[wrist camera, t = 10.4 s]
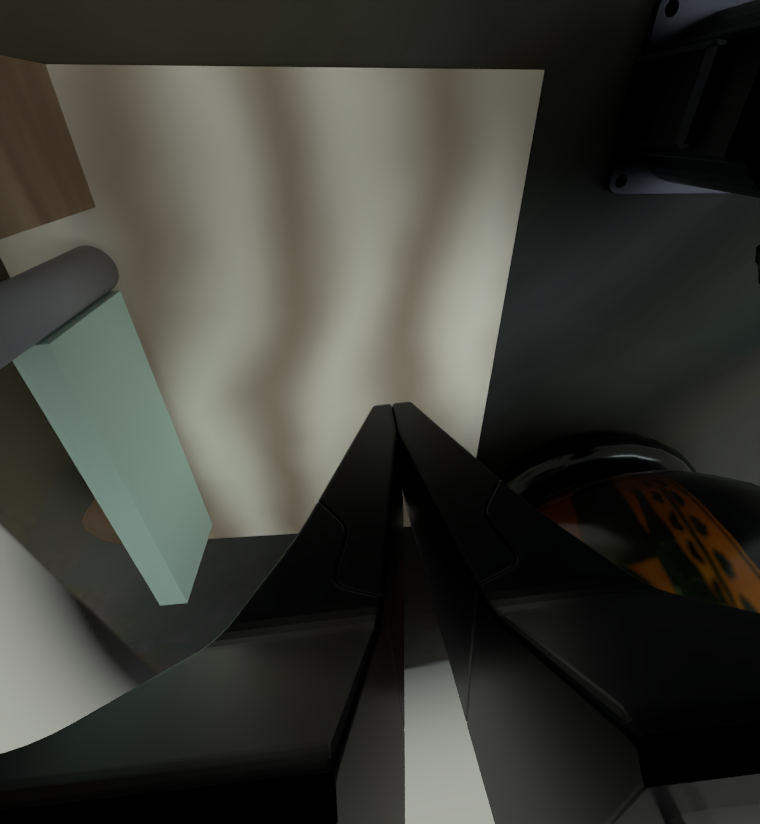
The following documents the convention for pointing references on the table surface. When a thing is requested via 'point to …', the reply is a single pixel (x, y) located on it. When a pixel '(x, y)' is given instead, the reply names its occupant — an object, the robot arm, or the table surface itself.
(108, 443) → the gate
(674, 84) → the robot arm
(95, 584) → the table surface
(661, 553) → the amphora vase
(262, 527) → the gate base
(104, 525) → the stop post
